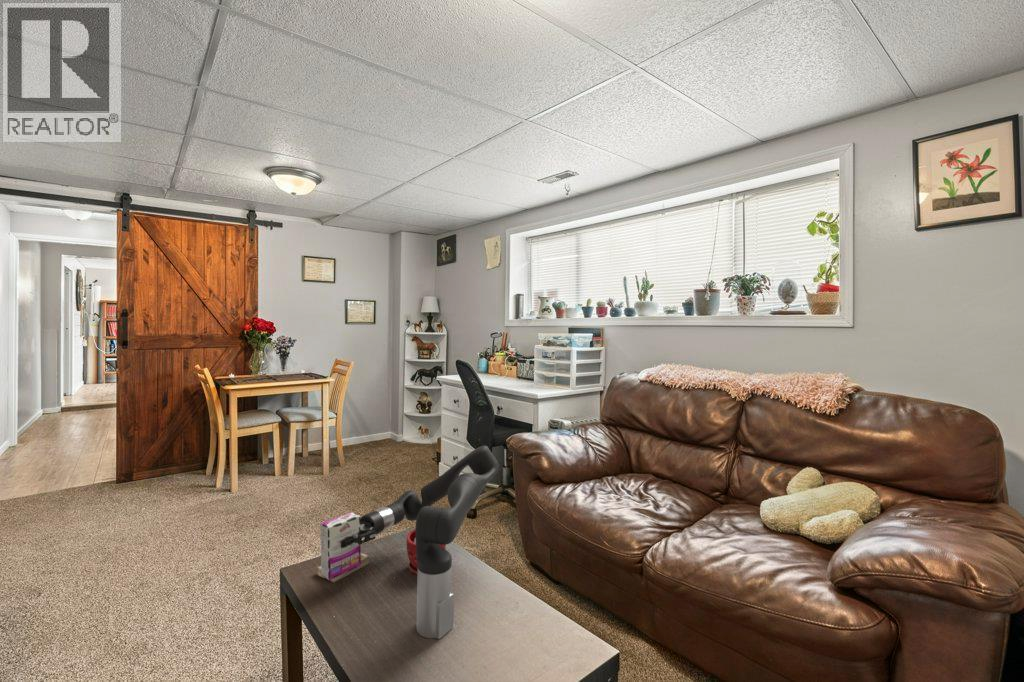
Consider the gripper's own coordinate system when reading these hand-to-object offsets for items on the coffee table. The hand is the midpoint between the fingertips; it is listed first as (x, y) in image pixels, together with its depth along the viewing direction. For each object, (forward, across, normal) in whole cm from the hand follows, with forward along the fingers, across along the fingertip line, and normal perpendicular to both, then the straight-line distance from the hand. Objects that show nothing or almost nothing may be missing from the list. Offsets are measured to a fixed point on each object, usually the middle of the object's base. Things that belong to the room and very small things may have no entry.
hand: (335, 541), depth 145 cm
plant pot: (-25, -14, -16) cm, 33 cm away
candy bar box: (-2, 0, -10) cm, 10 cm away
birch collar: (-10, +9, -16) cm, 21 cm away
